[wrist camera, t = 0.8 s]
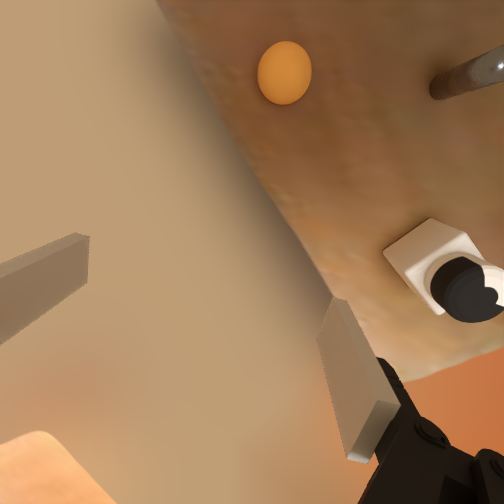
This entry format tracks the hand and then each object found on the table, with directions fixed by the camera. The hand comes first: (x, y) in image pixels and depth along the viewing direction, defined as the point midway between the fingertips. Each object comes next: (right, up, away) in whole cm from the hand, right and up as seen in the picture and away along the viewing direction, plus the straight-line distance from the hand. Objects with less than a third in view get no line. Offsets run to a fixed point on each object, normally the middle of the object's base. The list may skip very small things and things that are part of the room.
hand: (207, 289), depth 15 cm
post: (+23, +20, +16) cm, 34 cm away
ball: (+6, +20, +14) cm, 25 cm away
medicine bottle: (+24, +2, +22) cm, 33 cm away
